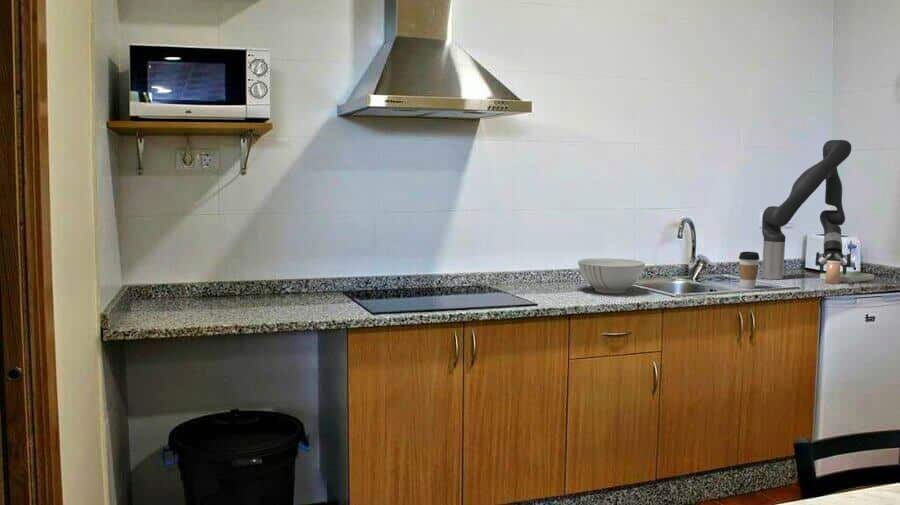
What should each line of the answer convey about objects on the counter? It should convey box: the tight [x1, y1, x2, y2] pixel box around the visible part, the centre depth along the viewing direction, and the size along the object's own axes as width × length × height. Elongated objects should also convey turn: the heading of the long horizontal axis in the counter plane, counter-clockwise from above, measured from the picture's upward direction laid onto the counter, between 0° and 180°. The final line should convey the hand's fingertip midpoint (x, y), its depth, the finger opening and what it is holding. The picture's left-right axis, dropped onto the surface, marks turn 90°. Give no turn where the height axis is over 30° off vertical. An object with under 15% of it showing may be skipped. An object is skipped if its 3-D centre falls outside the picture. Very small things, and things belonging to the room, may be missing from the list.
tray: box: [819, 270, 875, 284], centre depth 358 cm, size 20×14×2 cm
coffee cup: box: [738, 251, 760, 290], centre depth 331 cm, size 8×8×15 cm
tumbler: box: [825, 260, 841, 285], centre depth 346 cm, size 6×6×10 cm
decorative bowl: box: [577, 257, 646, 294], centre depth 318 cm, size 27×27×12 cm
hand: (833, 272), depth 345 cm, fingers open, 8 cm apart
